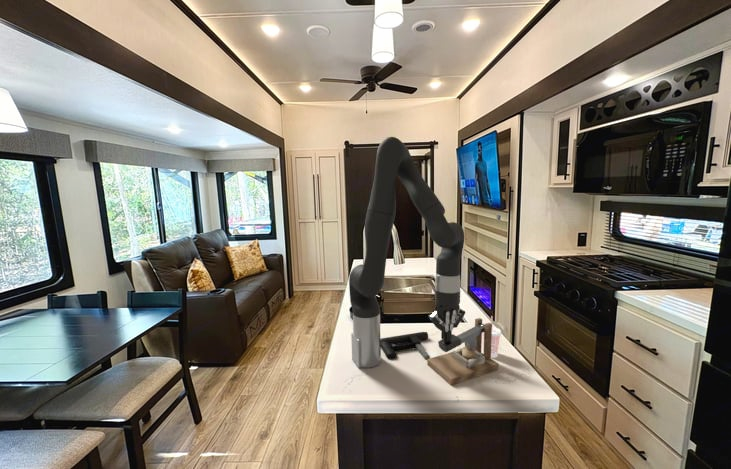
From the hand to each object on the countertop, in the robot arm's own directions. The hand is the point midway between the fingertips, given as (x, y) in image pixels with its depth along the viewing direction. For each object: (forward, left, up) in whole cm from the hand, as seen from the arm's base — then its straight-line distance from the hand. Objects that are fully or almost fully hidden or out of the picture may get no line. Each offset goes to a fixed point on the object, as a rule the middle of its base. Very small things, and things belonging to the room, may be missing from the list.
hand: (446, 340), depth 94 cm
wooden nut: (+9, 0, -9) cm, 13 cm away
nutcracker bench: (+7, 0, -11) cm, 12 cm away
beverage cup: (+21, +2, -11) cm, 24 cm away
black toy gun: (-3, +17, -11) cm, 21 cm away
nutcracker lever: (+8, 0, -5) cm, 9 cm away
